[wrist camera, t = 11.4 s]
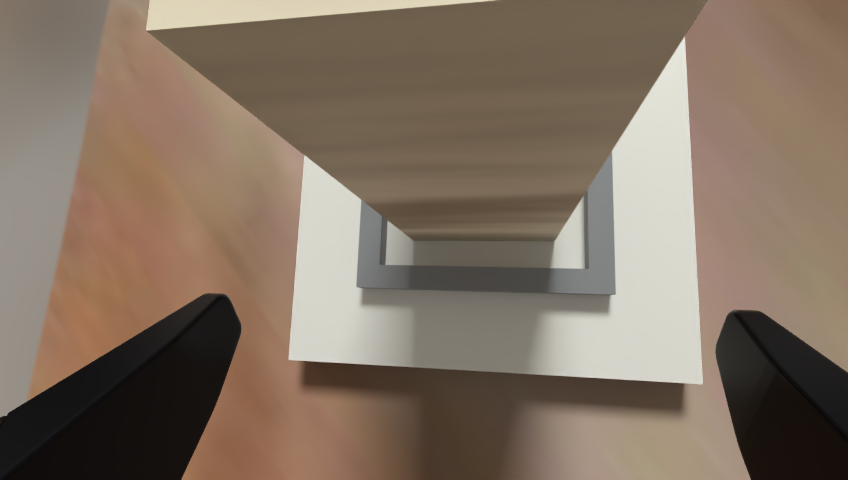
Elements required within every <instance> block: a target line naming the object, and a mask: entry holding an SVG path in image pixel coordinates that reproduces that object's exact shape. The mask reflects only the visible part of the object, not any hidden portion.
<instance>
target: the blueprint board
mask: <svg viewBox="0 0 848 480" xmlns="http://www.w3.org/2000/svg"><path fill="white" fill-rule="evenodd" d="M289 360H299V361H316V362H333V363H350V364H367V365H384V366H401V367H418V368H435V369H452V370H469V371H486V372H503V373H520V374H537V375H554V376H571V377H588V378H605V379H622V380H639V381H656V382H673V383H690V384H703V378H702V359H701V340H700V321H699V301H698V282H697V263H696V244H695V225H694V205H693V186H692V167H691V148H690V128H689V109H688V90H687V71H686V51H685V37H684V38H683V40H682V41H681V43H680V44H679V46H678V48H677V49H676V51H675V52H674V54H673V56H672V57H671V59H670V60H669V62H668V63H667V65H666V67H665V68H664V70H663V71H662V73H661V74H660V76H659V78H658V79H657V81H656V82H655V84H654V85H653V87H652V89H651V90H650V92H649V93H648V95H647V96H646V98H645V100H644V101H643V103H642V104H641V106H640V108H639V109H638V111H637V112H636V114H635V115H634V117H633V119H632V120H631V122H630V123H629V125H628V126H627V128H626V130H625V131H624V133H623V134H622V136H621V137H620V139H619V141H618V142H617V144H616V145H615V147H614V148H613V150H612V152H611V153H610V155H609V156H608V158H607V160H606V161H605V163H604V164H603V166H602V167H601V169H600V171H599V172H598V174H597V175H596V177H595V178H594V180H593V182H592V183H591V185H590V186H589V188H588V189H587V191H586V193H585V194H584V196H583V197H582V199H581V200H580V202H579V204H578V205H577V207H576V208H575V210H574V212H573V213H572V215H571V216H570V218H569V219H568V221H567V223H566V224H565V226H564V227H563V229H562V230H561V232H560V234H559V235H558V237H557V238H556V240H555V241H413V240H412V239H411V238H409V237H408V236H407V235H406V234H404V233H403V232H402V231H400V230H399V229H398V228H397V227H395V226H394V225H393V224H392V223H390V222H389V221H388V220H386V219H385V218H384V217H383V216H381V215H380V214H379V213H378V212H376V211H375V210H374V209H372V208H371V207H370V206H369V205H367V204H366V203H365V202H364V201H362V200H361V199H360V198H358V197H357V196H356V195H355V194H353V193H352V192H351V191H350V190H348V189H347V188H346V187H344V186H343V185H342V184H341V183H339V182H338V181H337V180H336V179H334V178H333V177H332V176H330V175H329V174H328V173H327V172H325V171H324V170H323V169H322V168H320V167H319V166H318V165H316V164H315V163H314V162H313V161H311V160H310V159H309V158H308V157H306V156H305V157H304V169H303V182H302V195H301V208H300V220H299V233H298V246H297V259H296V271H295V284H294V297H293V310H292V322H291V335H290V348H289Z"/></svg>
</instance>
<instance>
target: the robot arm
mask: <svg viewBox="0 0 848 480" xmlns="http://www.w3.org/2000/svg"><path fill="white" fill-rule="evenodd" d="M240 335H241V323H240V320H239V318H238V316H237V314H236V311H235V309H234V307H233V305H232V303H231V300H230V298H229V297H228V296H227V295H225V294H214V293H208V294H204V295H202V296H200V297H198V298H197V299H195V300H194V301H192V302H190V303H189V304H187V305H185V306H184V307H182V308H180V309H179V310H177V311H175V312H174V313H172V314H170V315H169V316H167V317H166V318H164V319H162V320H161V321H159V322H157V323H156V324H154V325H152V326H151V327H149V328H147V329H146V330H144V331H142V332H141V333H139V334H138V335H136V336H134V337H133V338H131V339H129V340H128V341H126V342H124V343H123V344H121V345H119V346H118V347H116V348H114V349H113V350H111V351H110V352H108V353H106V354H105V355H103V356H101V357H100V358H98V359H96V360H95V361H93V362H91V363H90V364H88V365H86V366H85V367H83V368H82V369H80V370H78V371H77V372H75V373H73V374H72V375H70V376H68V377H67V378H65V379H63V380H62V381H60V382H58V383H57V384H55V385H54V386H52V387H50V388H49V389H47V390H45V391H44V392H42V393H40V394H39V395H37V396H35V397H34V398H32V399H31V400H29V401H27V402H26V403H24V404H22V405H21V406H19V407H17V408H16V409H14V410H12V411H11V412H9V413H8V415H7V416H3V417H1V418H0V480H181V479H182V477H183V474H184V472H185V470H186V468H187V466H188V464H189V462H190V460H191V457H192V455H193V453H194V451H195V449H196V447H197V445H198V442H199V440H200V438H201V436H202V434H203V432H204V430H205V427H206V425H207V423H208V421H209V419H210V417H211V415H212V412H213V410H214V408H215V405H216V403H217V400H218V398H219V395H220V392H221V390H222V387H223V384H224V381H225V378H226V375H227V372H228V370H229V367H230V364H231V361H232V358H233V355H234V352H235V350H236V347H237V344H238V341H239V338H240ZM716 360H717V364H718V368H719V372H720V376H721V380H722V384H723V388H724V392H725V395H726V399H727V403H728V407H729V411H730V415H731V419H732V423H733V427H734V431H735V435H736V438H737V442H738V445H739V448H740V451H741V454H742V457H743V460H744V462H745V465H746V468H747V470H748V473H749V476H750V478H751V480H848V372H846V371H845V370H843V369H842V368H840V367H839V366H838V365H836V364H835V363H833V362H832V361H831V360H829V359H828V358H826V357H825V356H823V355H822V354H821V353H819V352H818V351H816V350H815V349H814V348H812V347H811V346H809V345H808V344H806V343H805V342H804V341H802V340H801V339H799V338H798V337H797V336H795V335H794V334H792V333H791V332H789V331H788V330H787V329H785V328H784V327H782V326H781V325H780V324H778V323H777V322H775V321H774V320H772V319H771V318H770V317H768V316H767V315H765V314H764V313H762V312H760V311H754V310H733V311H731V312H729V314H728V315H727V317H726V319H725V322H724V325H723V327H722V330H721V333H720V335H719V338H718V341H717V344H716Z"/></svg>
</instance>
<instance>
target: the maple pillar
mask: <svg viewBox="0 0 848 480" xmlns="http://www.w3.org/2000/svg"><path fill="white" fill-rule="evenodd" d="M706 2H707V0H150V5H149V12H148V20H147V27H146V31H147V32H148V33H150V34H151V35H152V36H154V37H155V38H156V39H157V40H159V41H160V42H161V43H162V44H164V45H165V46H166V47H168V48H169V49H170V50H171V51H173V52H174V53H175V54H176V55H178V56H179V57H180V58H182V59H183V60H184V61H185V62H187V63H188V64H189V65H190V66H192V67H193V68H194V69H196V70H197V71H198V72H199V73H201V74H202V75H203V76H204V77H206V78H207V79H208V80H210V81H211V82H212V83H213V84H215V85H216V86H217V87H218V88H220V89H221V90H222V91H224V92H225V93H226V94H227V95H229V96H230V97H231V98H232V99H234V100H235V101H236V102H238V103H239V104H240V105H241V106H243V107H244V108H245V109H246V110H248V111H249V112H250V113H252V114H253V115H254V116H255V117H257V118H258V119H259V120H260V121H262V122H263V123H264V124H266V125H267V126H268V127H269V128H271V129H272V130H273V131H274V132H276V133H277V134H278V135H280V136H281V137H282V138H283V139H285V140H286V141H287V142H288V143H290V144H291V145H292V146H294V147H295V148H296V149H297V150H299V151H300V152H301V153H302V154H304V155H305V156H306V157H308V158H309V159H310V160H311V161H313V162H314V163H315V164H316V165H318V166H319V167H320V168H322V169H323V170H324V171H325V172H327V173H328V174H329V175H330V176H332V177H333V178H334V179H336V180H337V181H338V182H339V183H341V184H342V185H343V186H344V187H346V188H347V189H348V190H350V191H351V192H352V193H353V194H355V195H356V196H357V197H358V198H360V199H361V200H362V201H364V202H365V203H366V204H367V205H369V206H370V207H371V208H372V209H374V210H375V211H376V212H378V213H379V214H380V215H381V216H383V217H384V218H385V219H386V220H388V221H389V222H390V223H392V224H393V225H394V226H395V227H397V228H398V229H399V230H400V231H402V232H403V233H404V234H406V235H407V236H408V237H409V238H411V239H412V240H413V241H555V240H556V238H557V237H558V235H559V234H560V232H561V230H562V229H563V227H564V226H565V224H566V223H567V221H568V219H569V218H570V216H571V215H572V213H573V212H574V210H575V208H576V207H577V205H578V204H579V202H580V200H581V199H582V197H583V196H584V194H585V193H586V191H587V189H588V188H589V186H590V185H591V183H592V182H593V180H594V178H595V177H596V175H597V174H598V172H599V171H600V169H601V167H602V166H603V164H604V163H605V161H606V160H607V158H608V156H609V155H610V153H611V152H612V150H613V148H614V147H615V145H616V144H617V142H618V141H619V139H620V137H621V136H622V134H623V133H624V131H625V130H626V128H627V126H628V125H629V123H630V122H631V120H632V119H633V117H634V115H635V114H636V112H637V111H638V109H639V108H640V106H641V104H642V103H643V101H644V100H645V98H646V96H647V95H648V93H649V92H650V90H651V89H652V87H653V85H654V84H655V82H656V81H657V79H658V78H659V76H660V74H661V73H662V71H663V70H664V68H665V67H666V65H667V63H668V62H669V60H670V59H671V57H672V56H673V54H674V52H675V51H676V49H677V48H678V46H679V44H680V43H681V41H682V40H683V38H684V37H685V35H686V33H687V32H688V30H689V29H690V27H691V26H692V24H693V22H694V21H695V19H696V18H697V16H698V15H699V13H700V11H701V10H702V8H703V7H704V5H705V4H706Z"/></svg>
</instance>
